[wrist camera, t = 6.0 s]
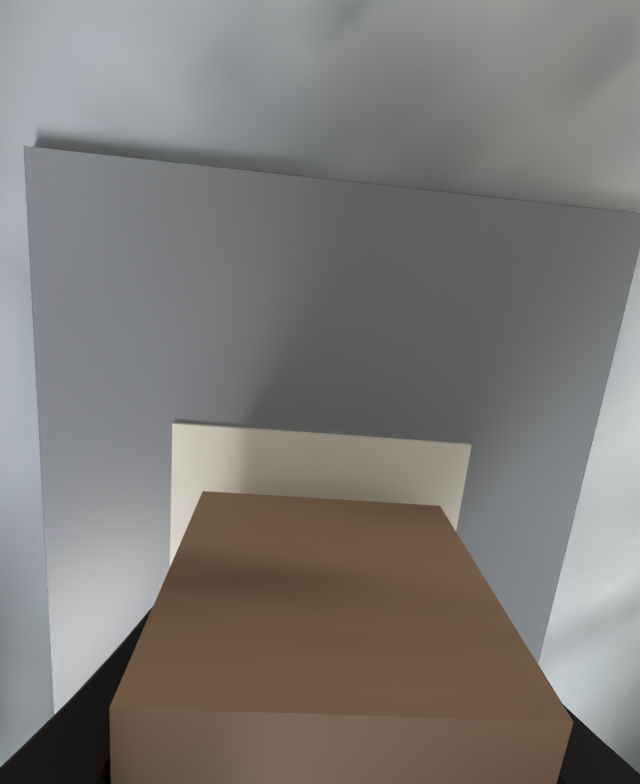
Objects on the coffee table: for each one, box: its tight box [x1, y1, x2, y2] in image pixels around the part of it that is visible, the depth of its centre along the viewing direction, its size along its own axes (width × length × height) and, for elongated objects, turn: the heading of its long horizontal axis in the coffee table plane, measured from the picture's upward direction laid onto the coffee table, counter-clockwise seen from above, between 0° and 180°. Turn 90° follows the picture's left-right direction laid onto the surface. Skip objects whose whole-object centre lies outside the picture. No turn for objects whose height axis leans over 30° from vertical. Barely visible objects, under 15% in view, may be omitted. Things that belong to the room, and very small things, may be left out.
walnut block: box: [109, 491, 573, 784], centre depth 8 cm, size 5×5×5 cm
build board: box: [24, 146, 640, 715], centre depth 12 cm, size 18×13×1 cm
